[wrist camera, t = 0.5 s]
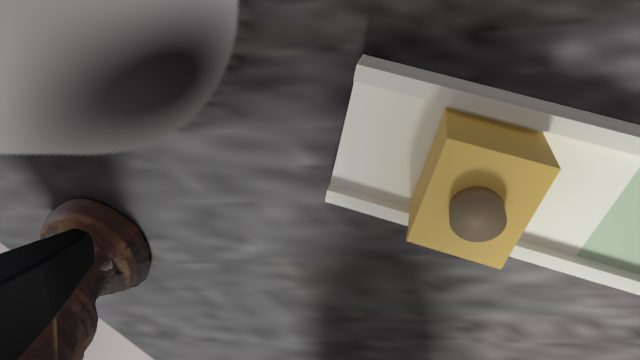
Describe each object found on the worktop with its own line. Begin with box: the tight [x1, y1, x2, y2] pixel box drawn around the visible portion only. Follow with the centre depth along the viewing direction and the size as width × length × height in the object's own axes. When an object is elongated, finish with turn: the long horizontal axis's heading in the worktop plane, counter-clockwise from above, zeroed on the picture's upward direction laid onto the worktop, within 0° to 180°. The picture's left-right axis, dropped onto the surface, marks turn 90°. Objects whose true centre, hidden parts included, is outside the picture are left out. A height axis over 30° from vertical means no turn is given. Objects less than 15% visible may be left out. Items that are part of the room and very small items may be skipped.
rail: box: [325, 54, 640, 295], centre depth 18 cm, size 7×18×4 cm, turn 79°
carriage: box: [406, 108, 561, 270], centre depth 17 cm, size 5×4×4 cm
